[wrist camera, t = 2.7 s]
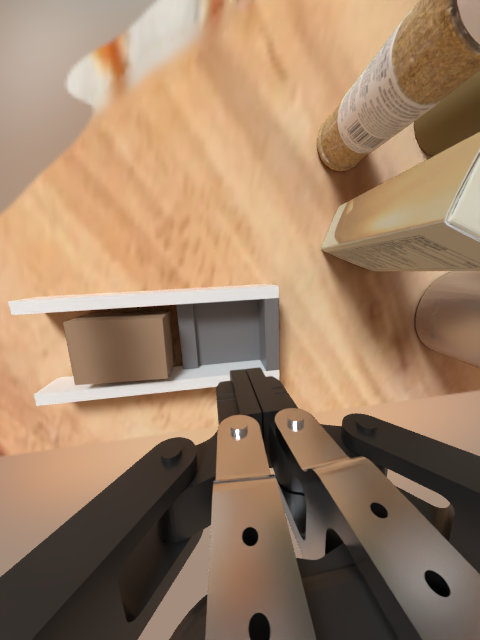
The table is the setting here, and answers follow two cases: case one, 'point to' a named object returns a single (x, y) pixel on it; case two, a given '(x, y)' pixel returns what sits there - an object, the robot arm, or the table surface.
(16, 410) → the table surface
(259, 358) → the trap channel
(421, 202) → the skincare box
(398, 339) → the table surface
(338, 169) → the sprinkles bottle
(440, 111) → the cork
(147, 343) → the walnut block
